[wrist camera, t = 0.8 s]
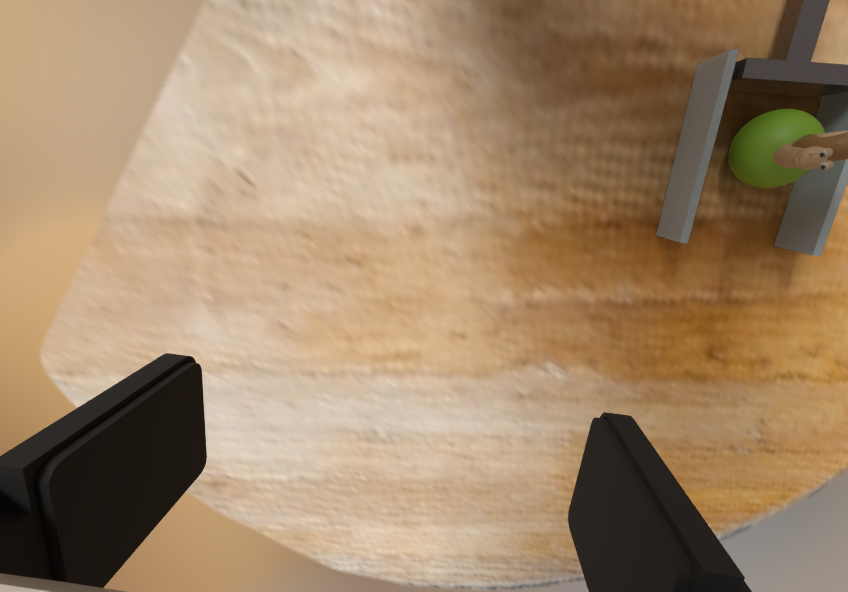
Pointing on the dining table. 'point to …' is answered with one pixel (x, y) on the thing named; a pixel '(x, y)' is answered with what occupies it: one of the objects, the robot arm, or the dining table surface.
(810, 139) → the snail figurine
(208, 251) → the dining table surface
